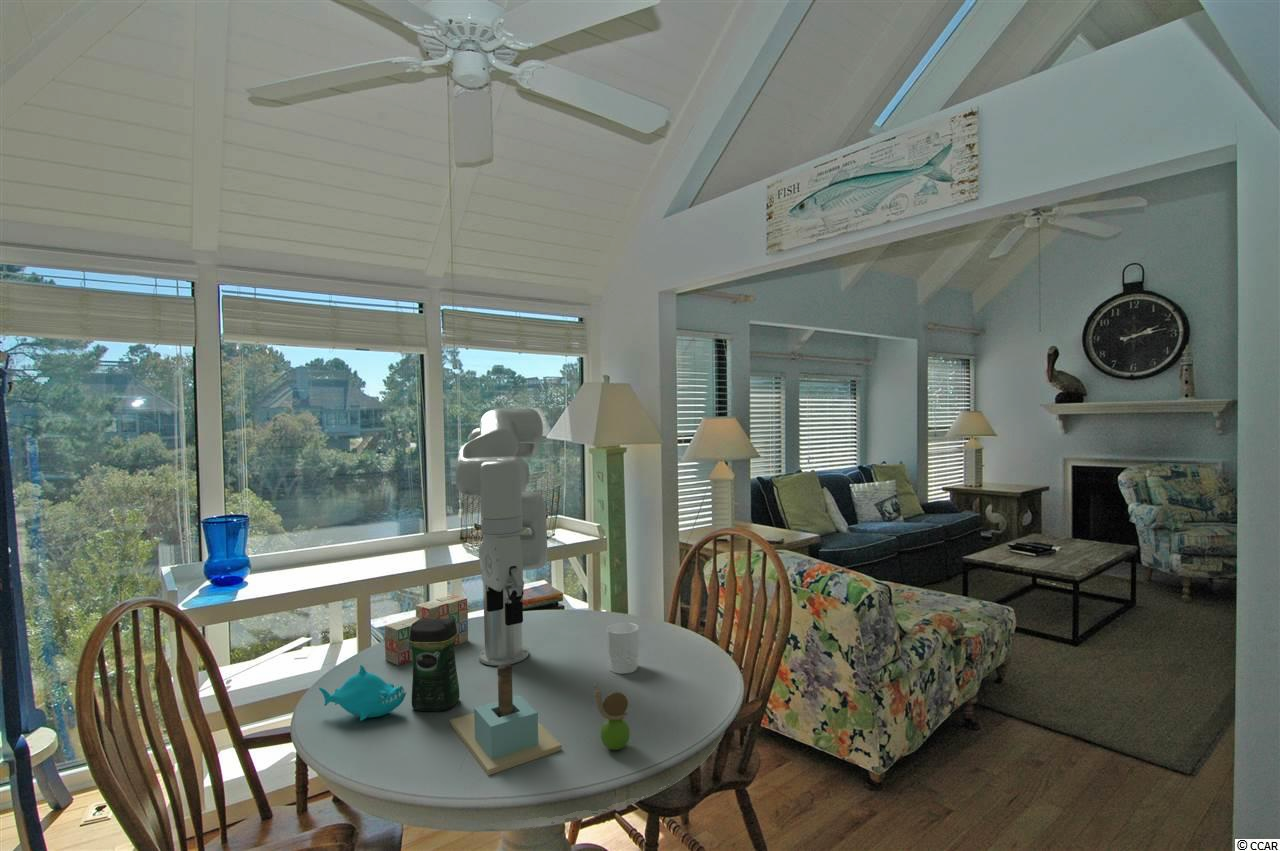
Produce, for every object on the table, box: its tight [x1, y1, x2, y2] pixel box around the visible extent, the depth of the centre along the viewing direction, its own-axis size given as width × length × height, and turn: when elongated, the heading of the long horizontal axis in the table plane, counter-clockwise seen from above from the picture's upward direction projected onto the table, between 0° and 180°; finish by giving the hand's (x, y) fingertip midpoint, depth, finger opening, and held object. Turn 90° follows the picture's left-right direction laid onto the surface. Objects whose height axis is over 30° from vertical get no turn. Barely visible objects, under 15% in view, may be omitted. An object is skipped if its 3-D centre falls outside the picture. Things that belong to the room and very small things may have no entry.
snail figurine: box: [593, 683, 631, 751], centre depth 115 cm, size 5×6×12 cm
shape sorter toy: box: [450, 694, 563, 776], centre depth 120 cm, size 22×14×7 cm, turn 33°
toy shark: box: [318, 664, 407, 722], centre depth 130 cm, size 10×18×11 cm, turn 90°
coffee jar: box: [409, 618, 461, 712], centre depth 135 cm, size 10×8×19 cm
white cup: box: [606, 622, 640, 675], centre depth 152 cm, size 8×8×10 cm
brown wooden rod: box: [497, 664, 514, 717], centre depth 116 cm, size 3×3×14 cm
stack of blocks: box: [384, 594, 469, 666], centre depth 167 cm, size 21×6×12 cm, turn 142°
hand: (504, 616), depth 117 cm, fingers open, 9 cm apart
